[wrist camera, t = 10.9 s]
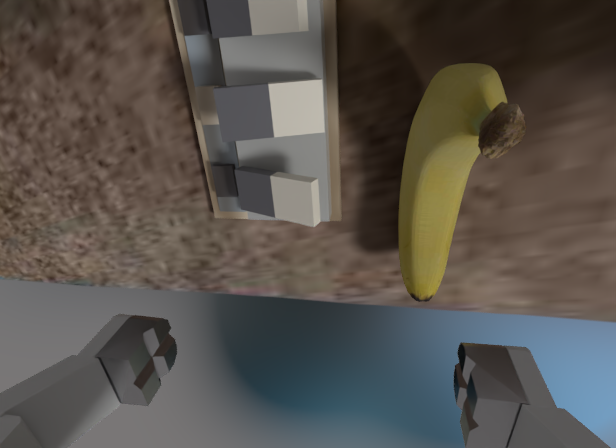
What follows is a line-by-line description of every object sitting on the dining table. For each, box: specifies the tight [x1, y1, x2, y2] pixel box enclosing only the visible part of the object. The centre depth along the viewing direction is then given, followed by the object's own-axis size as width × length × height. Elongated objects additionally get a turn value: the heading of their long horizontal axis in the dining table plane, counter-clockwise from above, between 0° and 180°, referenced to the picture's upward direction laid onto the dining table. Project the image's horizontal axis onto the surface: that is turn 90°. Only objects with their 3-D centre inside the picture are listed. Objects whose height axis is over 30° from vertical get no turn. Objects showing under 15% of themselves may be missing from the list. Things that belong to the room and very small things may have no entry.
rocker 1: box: [206, 0, 309, 39], centre depth 28 cm, size 9×4×2 cm, turn 94°
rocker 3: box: [234, 166, 321, 227], centre depth 35 cm, size 9×4×2 cm, turn 94°
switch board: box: [169, 0, 342, 221], centre depth 35 cm, size 15×26×2 cm, turn 4°
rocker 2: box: [213, 78, 325, 142], centre depth 31 cm, size 9×4×2 cm, turn 94°
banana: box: [398, 63, 526, 302], centre depth 28 cm, size 23×6×20 cm, turn 1°
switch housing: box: [219, 0, 332, 221], centre depth 34 cm, size 9×24×2 cm, turn 4°
